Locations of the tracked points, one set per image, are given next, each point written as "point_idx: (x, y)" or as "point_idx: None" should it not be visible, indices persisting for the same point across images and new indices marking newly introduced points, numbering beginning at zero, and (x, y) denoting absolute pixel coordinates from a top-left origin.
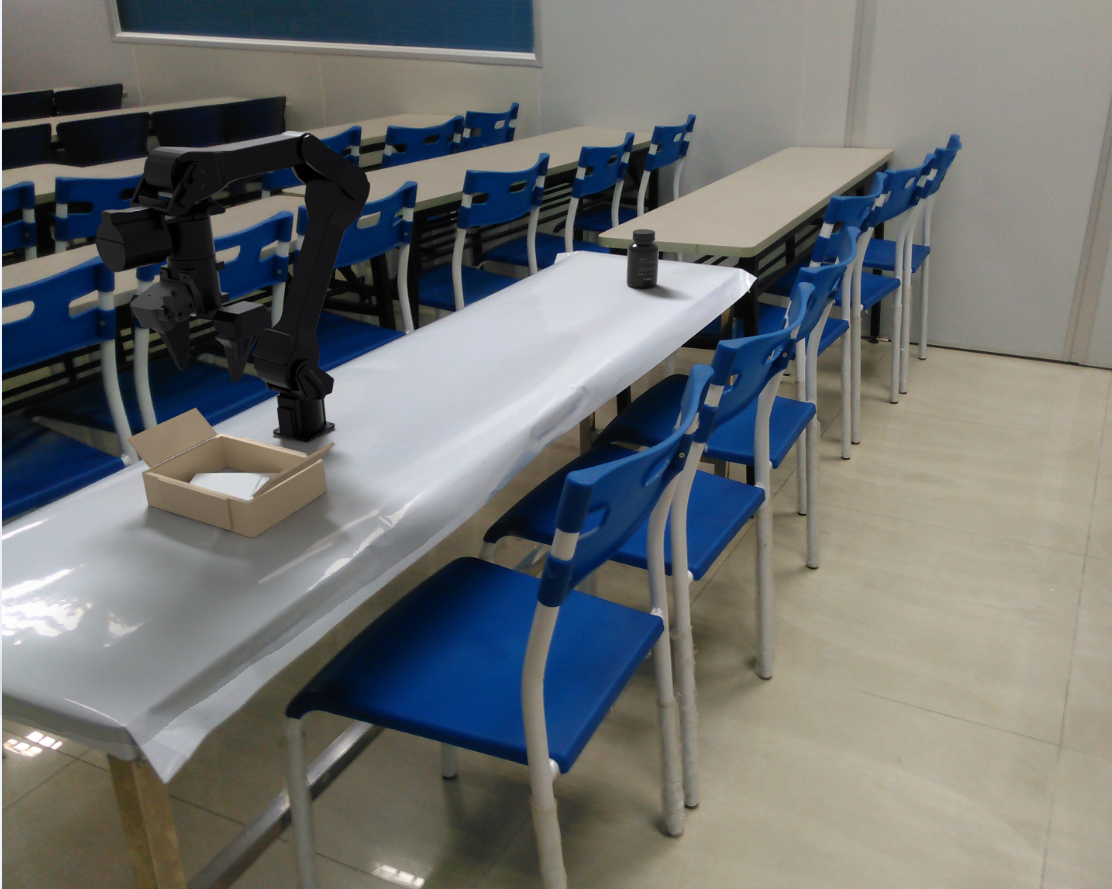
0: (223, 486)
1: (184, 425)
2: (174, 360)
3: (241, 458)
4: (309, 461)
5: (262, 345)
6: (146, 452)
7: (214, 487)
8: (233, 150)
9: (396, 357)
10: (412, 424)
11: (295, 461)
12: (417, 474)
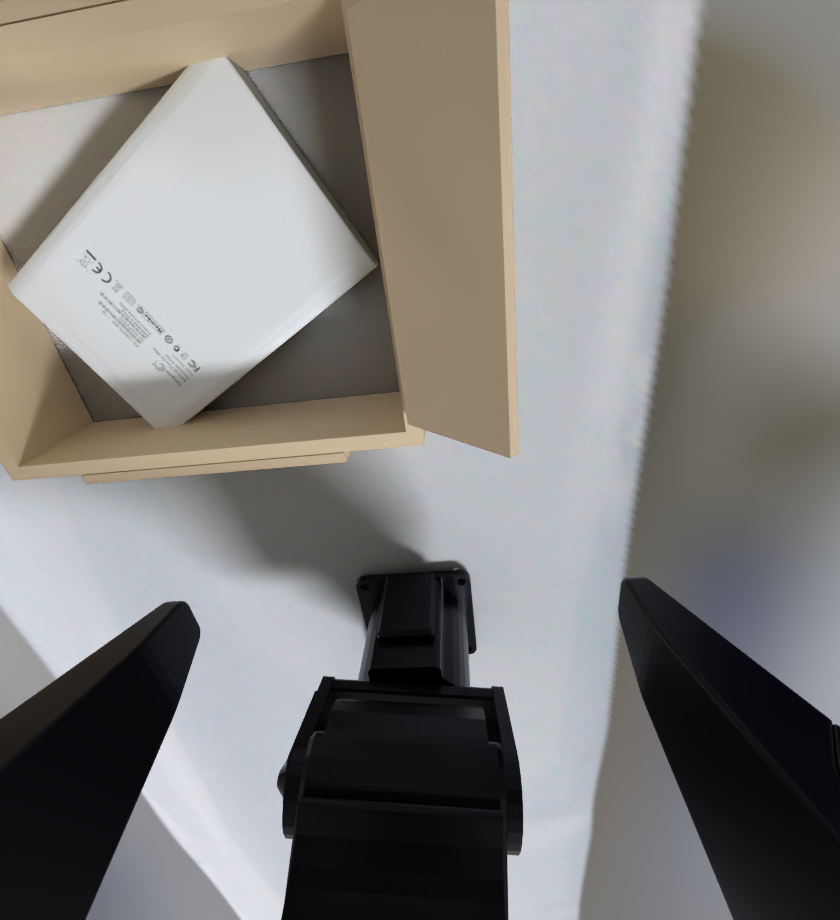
0: (211, 248)
1: (461, 342)
2: (696, 620)
3: (341, 412)
4: None
5: (467, 877)
6: (399, 23)
7: (227, 224)
8: None
9: (536, 858)
10: (267, 711)
11: (112, 449)
12: (51, 583)
